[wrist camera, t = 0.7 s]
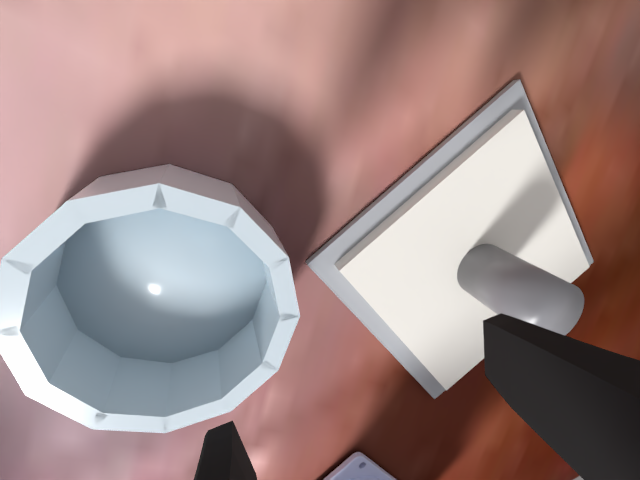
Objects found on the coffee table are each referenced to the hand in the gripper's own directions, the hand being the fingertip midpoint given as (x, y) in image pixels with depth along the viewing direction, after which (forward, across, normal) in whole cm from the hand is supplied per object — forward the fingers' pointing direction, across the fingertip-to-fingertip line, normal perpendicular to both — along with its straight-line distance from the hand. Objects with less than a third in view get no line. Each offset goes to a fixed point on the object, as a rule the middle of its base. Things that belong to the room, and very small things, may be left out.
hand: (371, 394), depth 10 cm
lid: (+9, -10, +4) cm, 14 cm away
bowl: (+10, +6, -1) cm, 11 cm away
